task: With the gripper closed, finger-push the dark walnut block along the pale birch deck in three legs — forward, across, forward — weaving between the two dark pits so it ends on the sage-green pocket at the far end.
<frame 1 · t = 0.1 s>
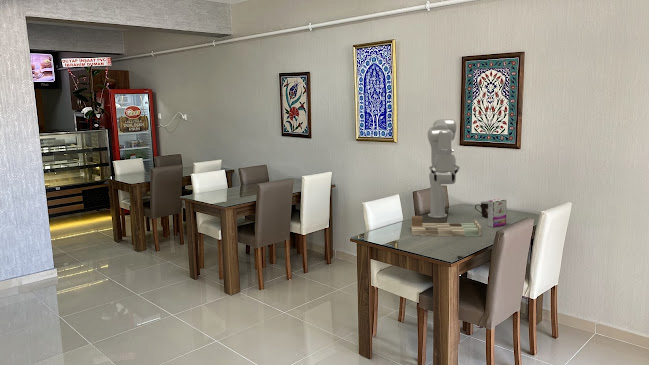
hand: (444, 181, 285), 31 cm above the table, tool pointing down, fingers open, 9 cm apart
walnut block: (416, 224, 298), point 3 cm above the table, touching trap deck
candy bar box: (496, 225, 303), on the table
trap deck: (443, 231, 292), on the table
coffee mug: (484, 217, 327), on the table
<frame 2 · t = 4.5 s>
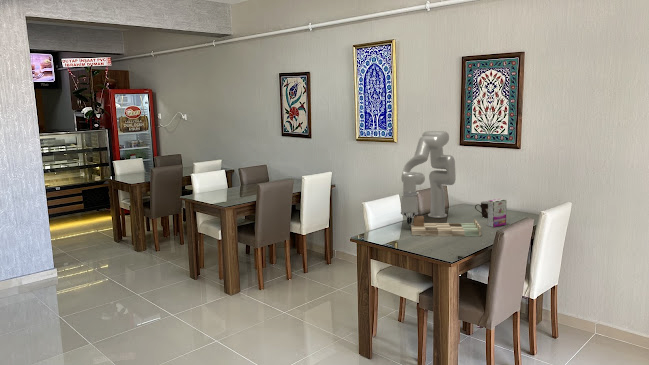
hand: (409, 223, 298), 4 cm above the table, tool pointing down, fingers closed
walnut block: (418, 225, 298), point 3 cm above the table, touching gripper
everything else where it was.
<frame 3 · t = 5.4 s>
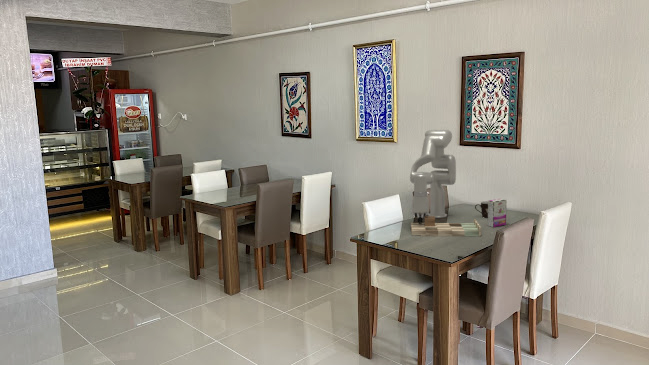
hand: (420, 223, 297), 4 cm above the table, tool pointing down, fingers closed
walnut block: (429, 225, 296), point 3 cm above the table, touching gripper, trap deck
everything else where it was.
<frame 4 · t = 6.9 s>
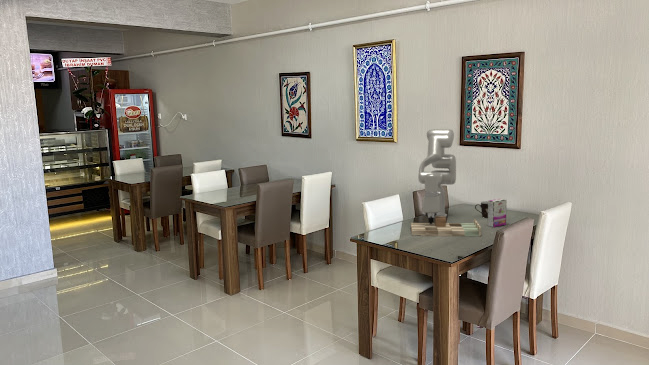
hand: (430, 223, 296), 4 cm above the table, tool pointing down, fingers closed
walnut block: (440, 225, 295), point 3 cm above the table, touching gripper, trap deck
everything else where it was.
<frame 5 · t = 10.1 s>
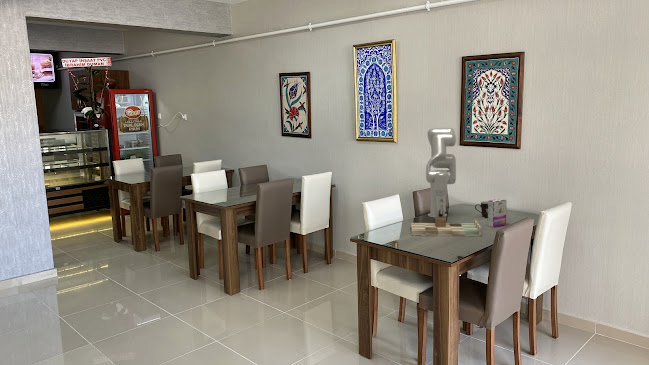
hand: (440, 222, 300), 4 cm above the table, tool pointing down, fingers closed
walnut block: (440, 225, 295), point 3 cm above the table, touching gripper
everything else where it was.
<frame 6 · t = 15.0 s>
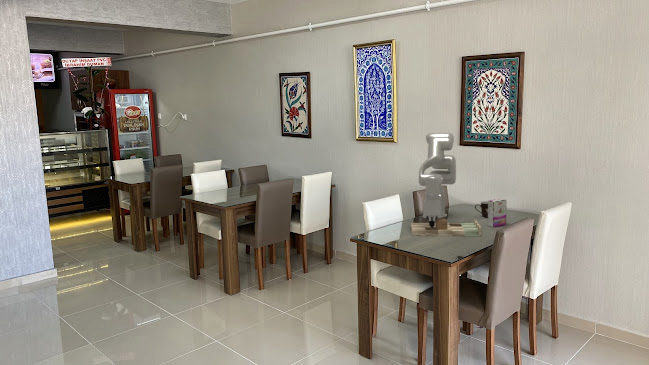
hand: (431, 227, 289), 4 cm above the table, tool pointing down, fingers closed
walnut block: (441, 228, 289), point 3 cm above the table, touching gripper
everything else where it was.
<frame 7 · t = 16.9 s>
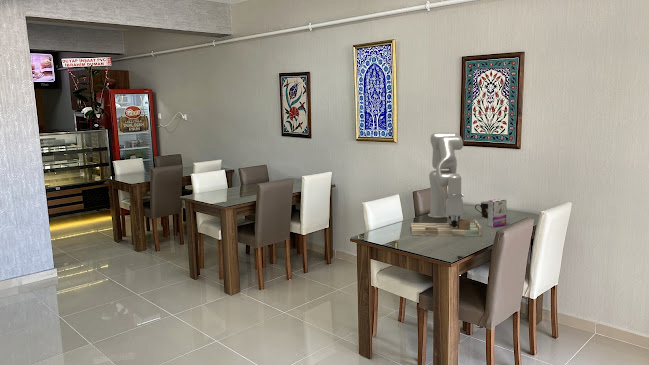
hand: (454, 227, 287), 4 cm above the table, tool pointing down, fingers closed
walnut block: (463, 228, 286), point 3 cm above the table, touching gripper
everything else where it was.
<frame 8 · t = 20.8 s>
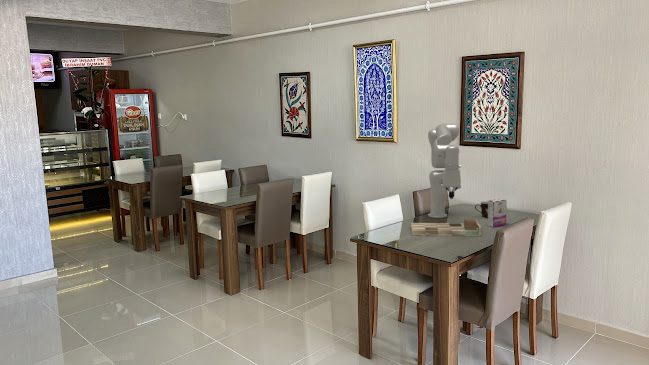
hand: (451, 198, 285), 21 cm above the table, tool pointing down, fingers closed
walnut block: (470, 228, 286), point 3 cm above the table, touching trap deck
everything else where it was.
at the end: walnut block inside the target area on the trap deck (3.3 cm from its centre), point 3.0 cm above the trap deck's base; walnut block tilted 0° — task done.
